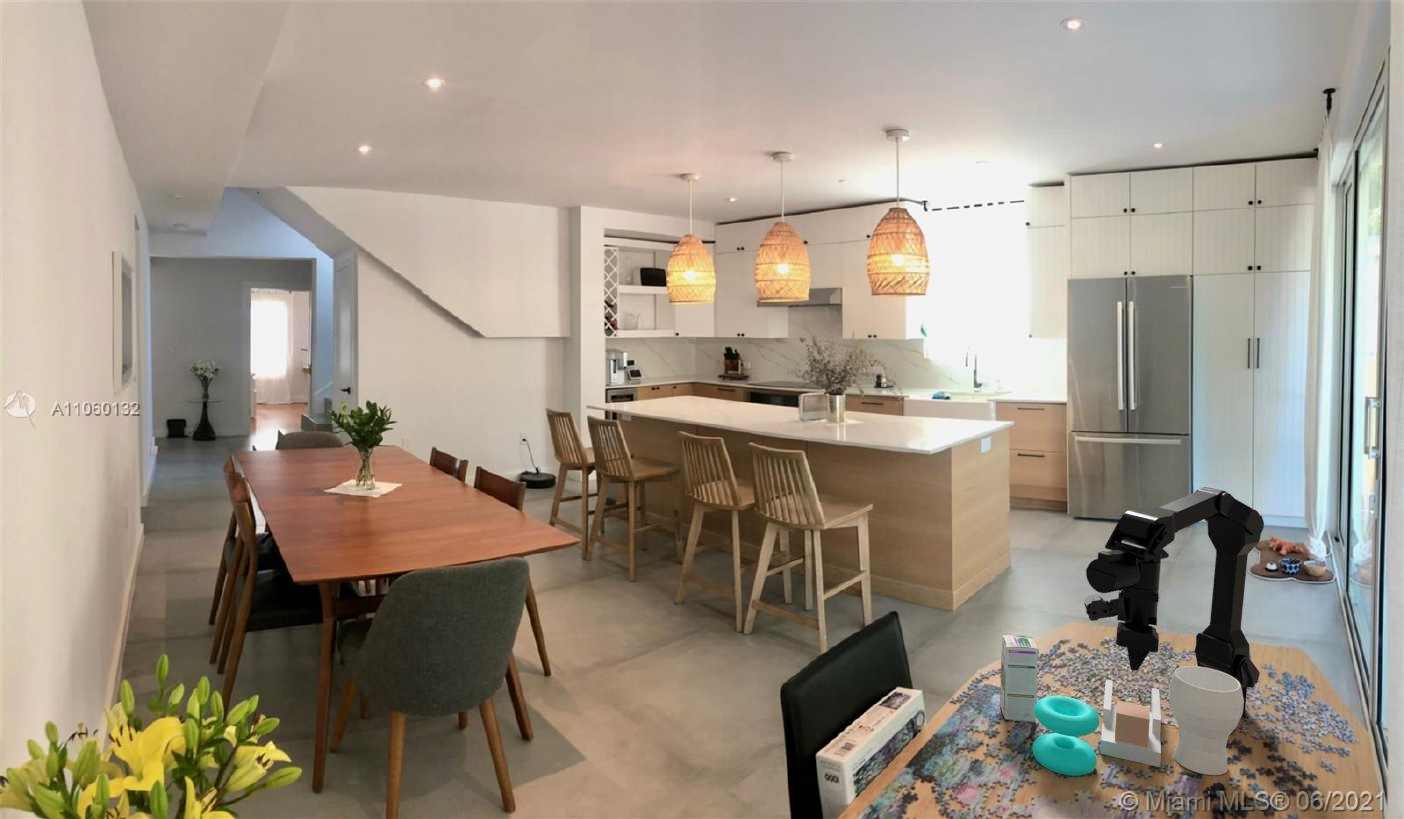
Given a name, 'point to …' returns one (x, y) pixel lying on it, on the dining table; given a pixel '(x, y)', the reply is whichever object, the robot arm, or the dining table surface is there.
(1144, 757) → the grey channel
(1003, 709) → the syrup box
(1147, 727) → the terracotta cube
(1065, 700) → the donuts
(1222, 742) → the cup
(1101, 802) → the dining table surface
